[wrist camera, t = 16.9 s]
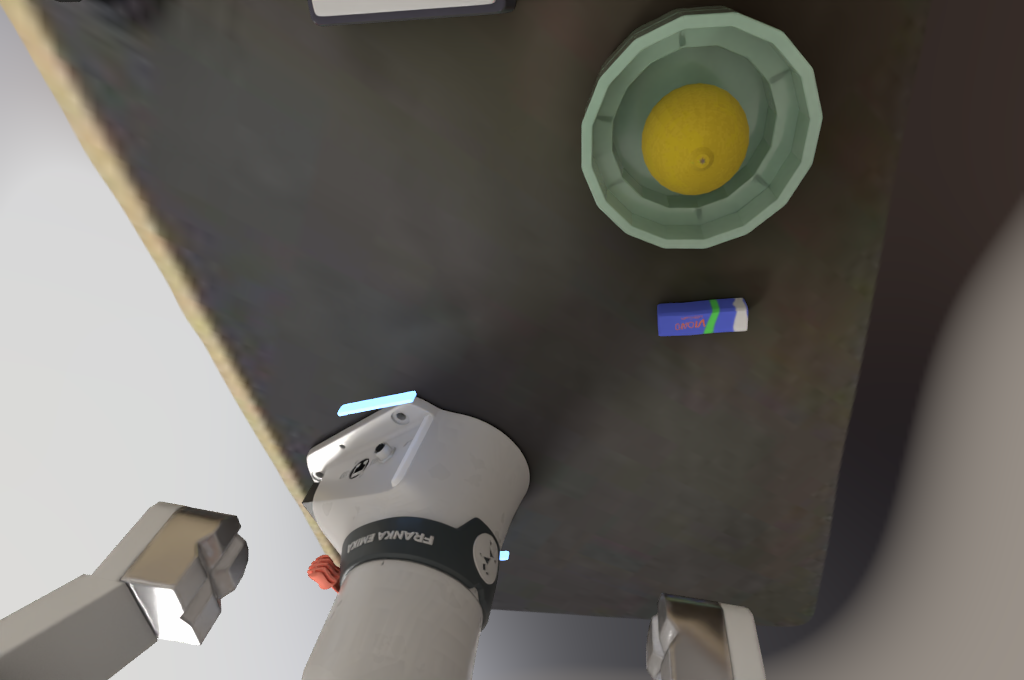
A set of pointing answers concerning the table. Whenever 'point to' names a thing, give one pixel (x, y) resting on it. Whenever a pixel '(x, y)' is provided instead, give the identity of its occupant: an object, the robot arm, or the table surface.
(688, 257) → the table surface
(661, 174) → the lemon
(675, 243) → the bowl
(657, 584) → the table surface
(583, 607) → the table surface
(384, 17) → the calculator
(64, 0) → the coffee cup
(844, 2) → the table surface
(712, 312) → the eraser
